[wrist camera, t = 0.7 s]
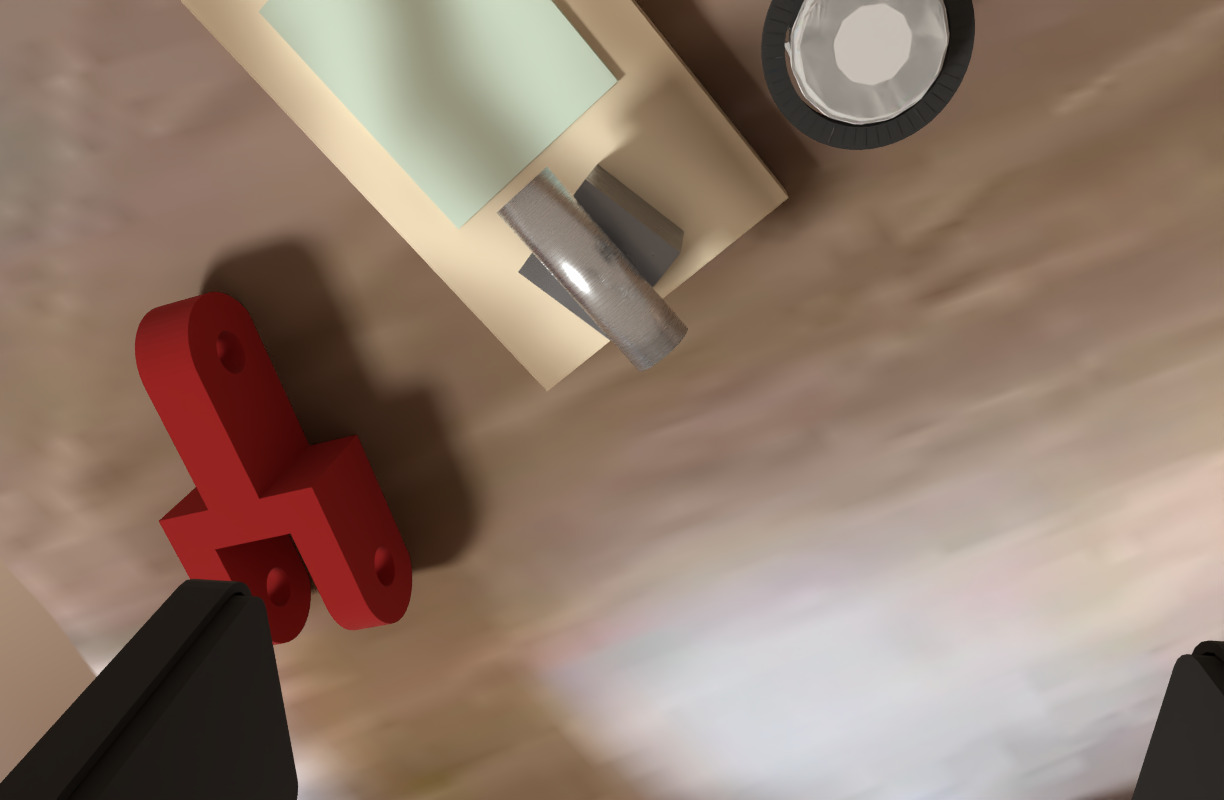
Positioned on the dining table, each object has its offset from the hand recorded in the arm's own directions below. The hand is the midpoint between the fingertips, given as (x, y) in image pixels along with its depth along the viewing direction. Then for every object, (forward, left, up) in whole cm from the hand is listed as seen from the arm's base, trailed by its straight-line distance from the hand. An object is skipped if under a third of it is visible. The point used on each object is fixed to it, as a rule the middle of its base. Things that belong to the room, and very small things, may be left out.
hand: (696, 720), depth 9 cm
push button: (-7, -3, -27) cm, 28 cm away
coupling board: (+4, -11, -27) cm, 29 cm away
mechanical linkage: (+22, -4, -28) cm, 35 cm away
